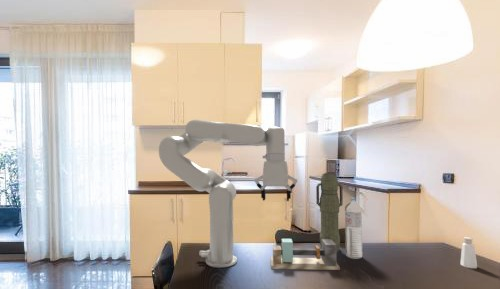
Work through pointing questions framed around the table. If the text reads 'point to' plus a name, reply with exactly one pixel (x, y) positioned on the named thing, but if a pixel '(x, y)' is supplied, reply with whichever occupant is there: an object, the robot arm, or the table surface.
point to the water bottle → (353, 230)
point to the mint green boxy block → (287, 250)
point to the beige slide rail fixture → (308, 263)
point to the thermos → (329, 207)
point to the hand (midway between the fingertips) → (275, 200)
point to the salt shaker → (468, 254)
